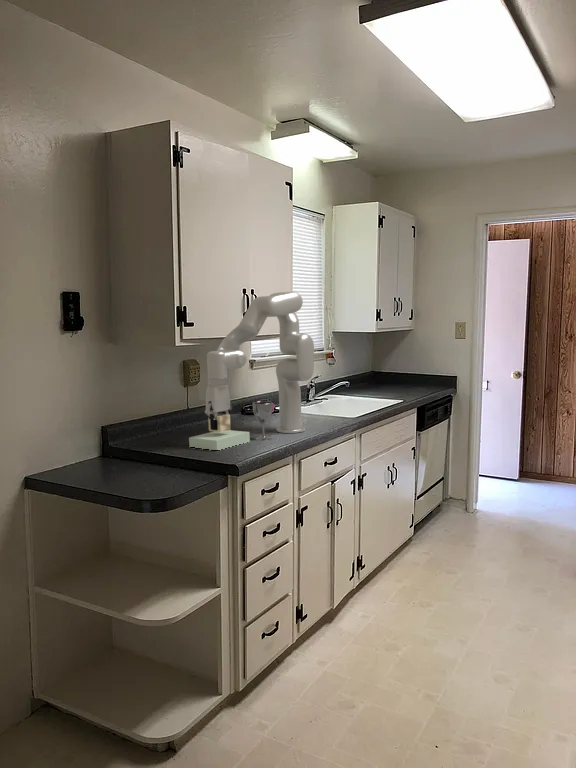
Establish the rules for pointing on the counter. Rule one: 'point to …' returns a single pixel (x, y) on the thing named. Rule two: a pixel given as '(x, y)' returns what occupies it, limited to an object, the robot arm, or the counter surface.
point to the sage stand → (219, 439)
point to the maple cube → (221, 423)
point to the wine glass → (262, 415)
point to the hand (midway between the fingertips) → (219, 428)
